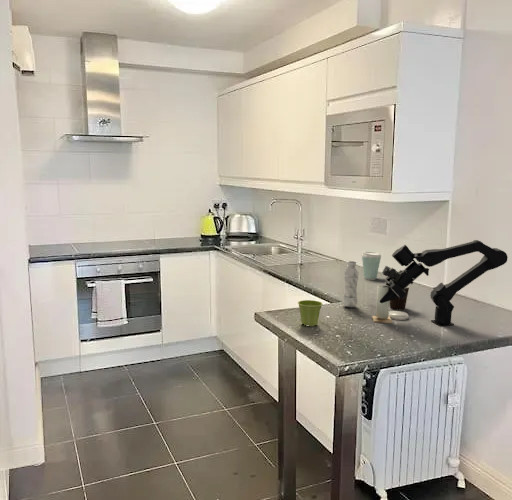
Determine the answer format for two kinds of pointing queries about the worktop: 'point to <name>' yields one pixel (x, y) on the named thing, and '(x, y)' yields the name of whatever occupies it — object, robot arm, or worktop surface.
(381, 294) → the tumbler
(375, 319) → the coaster
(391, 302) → the coffee mug
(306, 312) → the plant pot
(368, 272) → the disposable coffee cup
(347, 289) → the plastic bottle
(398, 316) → the ivory rounded dome part
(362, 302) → the worktop surface
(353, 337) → the worktop surface
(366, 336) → the worktop surface
